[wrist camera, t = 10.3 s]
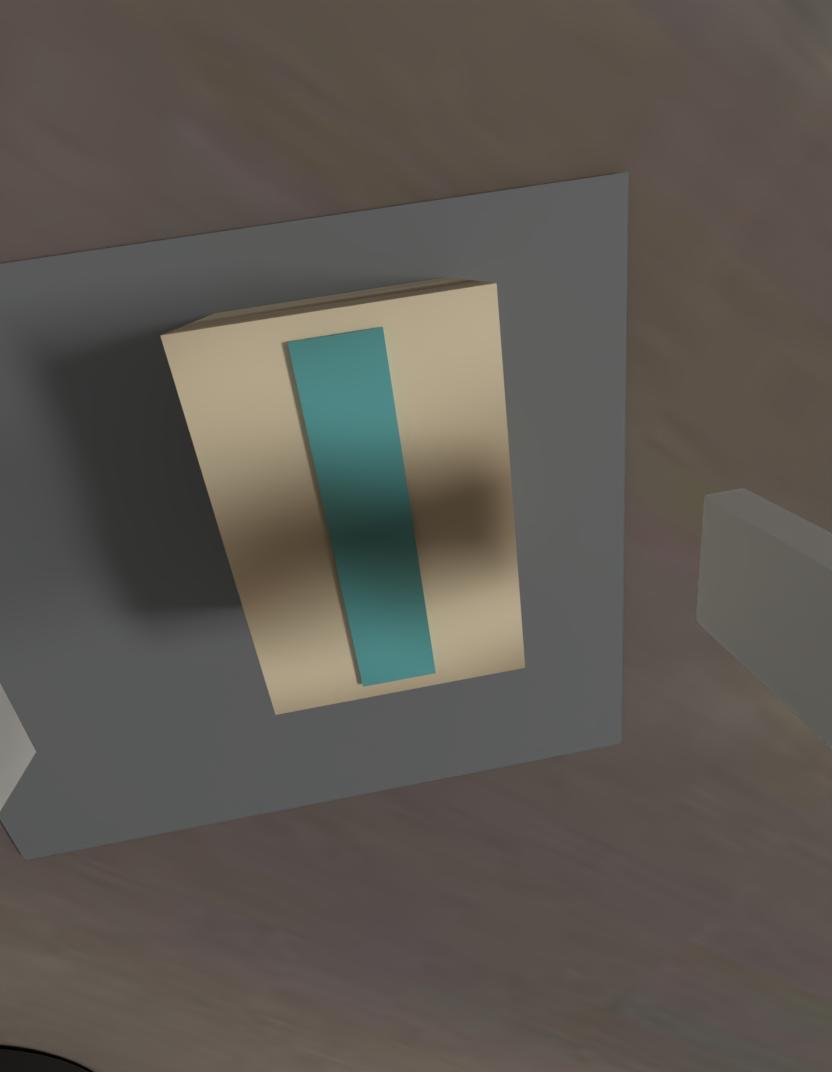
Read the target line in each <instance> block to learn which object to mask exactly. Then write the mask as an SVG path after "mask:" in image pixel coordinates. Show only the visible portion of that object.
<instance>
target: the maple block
mask: <svg viewBox="0 0 832 1072" xmlns="http://www.w3.org/2000/svg"><path fill="white" fill-rule="evenodd" d="M160 336H161V340H162V343H163V346H164V350H165V353H166V356H167V359H168V363H169V366H170V369H171V373H172V376H173V379H174V382H175V386H176V389H177V392H178V396H179V399H180V402H181V405H182V409H183V412H184V415H185V419H186V422H187V425H188V429H189V432H190V435H191V438H192V442H193V445H194V448H195V452H196V455H197V458H198V461H199V465H200V468H201V471H202V475H203V478H204V481H205V484H206V488H207V491H208V494H209V498H210V501H211V504H212V508H213V511H214V514H215V517H216V521H217V524H218V527H219V531H220V534H221V537H222V540H223V544H224V547H225V550H226V554H227V557H228V560H229V564H230V567H231V570H232V573H233V577H234V580H235V583H236V587H237V590H238V593H239V596H240V600H241V603H242V606H243V610H244V613H245V616H246V619H247V623H248V626H249V629H250V633H251V636H252V639H253V643H254V646H255V649H256V652H257V656H258V659H259V662H260V666H261V669H262V672H263V675H264V679H265V682H266V685H267V689H268V692H269V695H270V698H271V702H272V705H273V708H274V712H275V715H278V714H283V713H288V712H294V711H299V710H304V709H309V708H315V707H320V706H325V705H331V704H336V703H341V702H346V701H352V700H357V699H362V698H368V697H373V696H378V695H383V694H389V693H394V692H399V691H405V690H410V689H415V688H421V687H426V686H431V685H436V684H442V683H447V682H452V681H458V680H463V679H468V678H473V677H479V676H484V675H489V674H495V673H500V672H505V671H510V670H516V669H521V668H525V658H524V644H523V631H522V618H521V604H520V591H519V577H518V564H517V550H516V537H515V523H514V510H513V497H512V483H511V470H510V456H509V443H508V429H507V416H506V403H505V389H504V376H503V362H502V349H501V335H500V322H499V309H498V295H497V283H491V282H483V281H475V280H467V279H459V278H451V277H446V278H440V279H433V280H427V281H421V282H414V283H408V284H401V285H395V286H388V287H382V288H375V289H369V290H362V291H356V292H349V293H343V294H336V295H330V296H323V297H317V298H311V299H304V300H298V301H291V302H285V303H278V304H272V305H265V306H259V307H252V308H246V309H239V310H233V311H226V312H220V313H214V314H212V315H209V316H207V317H204V318H202V319H199V320H197V321H195V322H192V323H190V324H187V325H185V326H182V327H180V328H177V329H175V330H173V331H170V332H168V333H165V334H163V335H160Z"/></svg>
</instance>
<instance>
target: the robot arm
mask: <svg viewBox="0 0 832 1072" xmlns="http://www.w3.org/2000/svg"><path fill="white" fill-rule="evenodd" d="M696 621H697V622H698V623H699V624H700V625H701V626H702V627H703V628H704V629H705V630H706V631H707V632H708V633H709V634H710V635H711V636H713V637H714V638H715V639H716V640H717V641H718V642H719V643H720V644H721V645H722V646H723V647H724V648H725V649H726V650H727V651H728V652H730V653H731V654H732V655H733V656H734V657H735V658H736V659H737V660H738V661H739V662H740V663H741V664H742V665H743V666H744V667H745V668H747V669H748V670H749V671H750V672H751V673H752V674H753V675H754V676H755V677H756V678H757V679H758V680H759V681H760V682H761V683H762V684H763V685H765V686H766V687H767V688H768V689H769V690H770V691H771V692H772V693H773V694H774V695H775V696H776V697H777V698H778V699H779V700H780V701H782V702H783V703H784V704H785V705H786V706H787V707H788V708H789V709H790V710H791V711H792V712H793V713H794V714H795V715H796V716H797V717H799V718H800V719H801V720H802V721H803V722H804V723H805V724H806V725H807V726H808V727H809V728H810V729H811V730H812V731H813V732H814V733H816V734H817V735H818V736H819V737H820V738H821V739H822V740H823V741H824V742H825V743H826V744H827V745H828V746H829V747H830V748H831V749H832V533H830V532H828V531H826V530H824V529H822V528H820V527H818V526H816V525H814V524H812V523H810V522H808V521H806V520H804V519H802V518H800V517H799V516H797V515H795V514H793V513H791V512H789V511H787V510H785V509H783V508H781V507H779V506H777V505H775V504H773V503H771V502H769V501H768V500H766V499H764V498H762V497H760V496H758V495H756V494H754V493H752V492H750V491H748V490H746V489H744V488H742V489H736V490H731V491H725V492H720V493H714V494H709V495H704V508H703V524H702V539H701V555H700V570H699V586H698V601H697V616H696ZM35 753H36V751H35V749H34V747H33V745H32V743H31V741H30V739H29V737H28V735H27V733H26V731H25V730H24V728H23V726H22V724H21V722H20V720H19V718H18V716H17V714H16V712H15V710H14V708H13V707H12V705H11V703H10V701H9V699H8V697H7V695H6V693H5V691H4V689H3V687H2V686H1V684H0V811H1V809H2V807H3V806H4V804H5V802H6V801H7V799H8V797H9V796H10V794H11V793H12V791H13V789H14V788H15V786H16V784H17V783H18V781H19V779H20V778H21V776H22V774H23V773H24V771H25V769H26V768H27V766H28V765H29V763H30V761H31V760H32V758H33V756H34V755H35ZM0 1072H89V1071H87V1070H85V1069H82V1068H80V1067H78V1066H76V1065H73V1064H71V1063H68V1062H65V1061H62V1060H59V1059H55V1058H52V1057H48V1056H44V1055H40V1054H35V1053H29V1052H23V1051H16V1050H7V1049H0Z"/></svg>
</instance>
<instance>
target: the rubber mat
mask: <svg viewBox="0 0 832 1072" xmlns="http://www.w3.org/2000/svg"><path fill="white" fill-rule="evenodd" d="M627 255H628V172H625V173H618V174H612V175H605V176H598V177H591V178H584V179H577V180H571V181H564V182H557V183H550V184H543V185H536V186H529V187H523V188H516V189H509V190H502V191H495V192H488V193H482V194H475V195H468V196H461V197H454V198H447V199H440V200H434V201H427V202H420V203H413V204H406V205H399V206H393V207H386V208H379V209H372V210H365V211H358V212H351V213H345V214H338V215H331V216H324V217H317V218H310V219H304V220H297V221H290V222H283V223H276V224H269V225H262V226H256V227H249V228H242V229H235V230H228V231H221V232H215V233H208V234H201V235H194V236H187V237H180V238H173V239H167V240H160V241H153V242H146V243H139V244H132V245H126V246H119V247H112V248H105V249H98V250H91V251H84V252H78V253H71V254H64V255H57V256H50V257H43V258H37V259H30V260H23V261H16V262H9V263H2V264H0V684H1V686H2V687H3V689H4V691H5V693H6V695H7V697H8V699H9V701H10V703H11V705H12V707H13V708H14V710H15V712H16V714H17V716H18V718H19V720H20V722H21V724H22V726H23V728H24V730H25V731H26V733H27V735H28V737H29V739H30V741H31V743H32V745H33V747H34V749H35V751H36V753H35V755H34V756H33V758H32V760H31V761H30V763H29V765H28V766H27V768H26V769H25V771H24V773H23V774H22V776H21V778H20V779H19V781H18V783H17V784H16V786H15V788H14V789H13V791H12V793H11V794H10V796H9V797H8V799H7V801H6V802H5V804H4V806H3V807H2V809H1V811H0V821H1V822H2V824H3V826H4V827H5V829H6V831H7V832H8V834H9V835H10V837H11V839H12V840H13V842H14V844H15V845H16V847H17V849H18V850H19V852H20V854H21V855H22V857H23V858H24V860H30V859H35V858H40V857H45V856H50V855H56V854H61V853H66V852H71V851H76V850H81V849H86V848H91V847H96V846H101V845H107V844H112V843H117V842H122V841H127V840H132V839H137V838H142V837H147V836H153V835H158V834H163V833H168V832H173V831H178V830H183V829H188V828H193V827H198V826H204V825H209V824H214V823H219V822H224V821H229V820H234V819H239V818H244V817H249V816H255V815H260V814H265V813H270V812H275V811H280V810H285V809H290V808H295V807H300V806H306V805H311V804H316V803H321V802H326V801H331V800H336V799H341V798H346V797H352V796H357V795H362V794H367V793H372V792H377V791H382V790H387V789H392V788H397V787H403V786H408V785H413V784H418V783H423V782H428V781H433V780H438V779H443V778H448V777H454V776H459V775H464V774H469V773H474V772H479V771H484V770H489V769H494V768H499V767H505V766H510V765H515V764H520V763H525V762H530V761H535V760H540V759H545V758H551V757H556V756H561V755H566V754H571V753H576V752H581V751H586V750H591V749H596V748H602V747H607V746H612V745H617V744H622V676H623V592H624V507H625V423H626V339H627ZM446 277H451V278H459V279H467V280H475V281H483V282H491V283H497V295H498V309H499V322H500V335H501V349H502V362H503V376H504V389H505V403H506V416H507V429H508V443H509V456H510V470H511V483H512V497H513V510H514V523H515V537H516V550H517V564H518V577H519V591H520V604H521V618H522V631H523V644H524V658H525V668H521V669H516V670H510V671H505V672H500V673H495V674H489V675H484V676H479V677H473V678H468V679H463V680H458V681H452V682H447V683H442V684H436V685H431V686H426V687H421V688H415V689H410V690H405V691H399V692H394V693H389V694H383V695H378V696H373V697H368V698H362V699H357V700H352V701H346V702H341V703H336V704H331V705H325V706H320V707H315V708H309V709H304V710H299V711H294V712H288V713H283V714H278V715H275V712H274V708H273V705H272V702H271V698H270V695H269V692H268V689H267V685H266V682H265V679H264V675H263V672H262V669H261V666H260V662H259V659H258V656H257V652H256V649H255V646H254V643H253V639H252V636H251V633H250V629H249V626H248V623H247V619H246V616H245V613H244V610H243V606H242V603H241V600H240V596H239V593H238V590H237V587H236V583H235V580H234V577H233V573H232V570H231V567H230V564H229V560H228V557H227V554H226V550H225V547H224V544H223V540H222V537H221V534H220V531H219V527H218V524H217V521H216V517H215V514H214V511H213V508H212V504H211V501H210V498H209V494H208V491H207V488H206V484H205V481H204V478H203V475H202V471H201V468H200V465H199V461H198V458H197V455H196V452H195V448H194V445H193V442H192V438H191V435H190V432H189V429H188V425H187V422H186V419H185V415H184V412H183V409H182V405H181V402H180V399H179V396H178V392H177V389H176V386H175V382H174V379H173V376H172V373H171V369H170V366H169V363H168V359H167V356H166V353H165V350H164V346H163V343H162V340H161V336H160V335H163V334H165V333H168V332H170V331H173V330H175V329H177V328H180V327H182V326H185V325H187V324H190V323H192V322H195V321H197V320H199V319H202V318H204V317H207V316H209V315H212V314H214V313H220V312H226V311H233V310H239V309H246V308H252V307H259V306H265V305H272V304H278V303H285V302H291V301H298V300H304V299H311V298H317V297H323V296H330V295H336V294H343V293H349V292H356V291H362V290H369V289H375V288H382V287H388V286H395V285H401V284H408V283H414V282H421V281H427V280H433V279H440V278H446Z"/></svg>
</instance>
